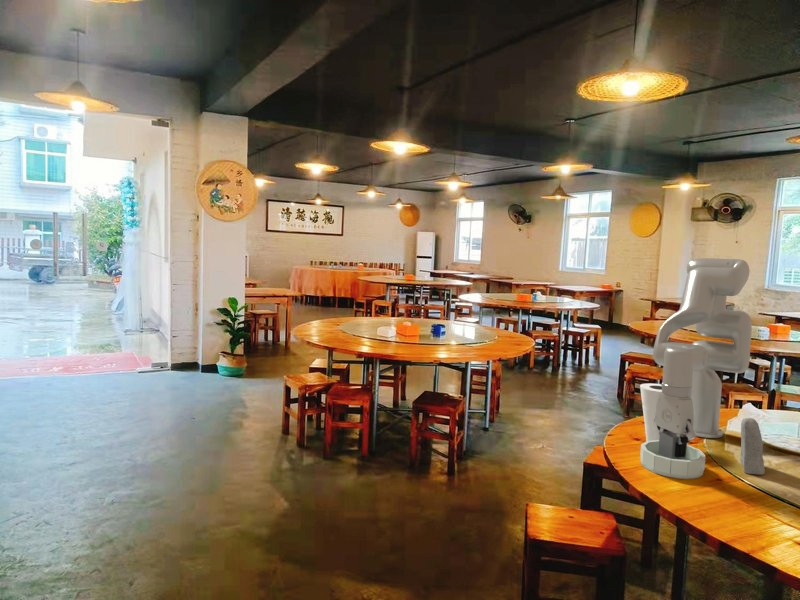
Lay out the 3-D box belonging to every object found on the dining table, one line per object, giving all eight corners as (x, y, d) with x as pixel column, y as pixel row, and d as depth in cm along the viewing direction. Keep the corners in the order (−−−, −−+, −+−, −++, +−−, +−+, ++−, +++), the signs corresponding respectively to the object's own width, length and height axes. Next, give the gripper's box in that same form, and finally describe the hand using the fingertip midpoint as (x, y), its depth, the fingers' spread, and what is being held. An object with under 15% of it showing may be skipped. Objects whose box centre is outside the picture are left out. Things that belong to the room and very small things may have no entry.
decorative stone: (735, 459, 162) (739, 410, 160) (758, 463, 159) (763, 413, 158) (740, 473, 152) (744, 421, 150) (766, 477, 150) (770, 424, 148)
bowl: (628, 459, 161) (629, 442, 160) (673, 454, 165) (674, 438, 165) (669, 481, 145) (670, 463, 145) (716, 475, 150) (718, 458, 149)
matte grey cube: (658, 453, 157) (659, 431, 156) (672, 452, 158) (674, 430, 157) (671, 460, 152) (672, 437, 151) (685, 458, 153) (687, 436, 153)
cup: (629, 437, 179) (632, 384, 177) (657, 435, 182) (661, 382, 180) (651, 449, 169) (655, 392, 167) (680, 446, 171) (684, 391, 170)
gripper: (644, 384, 160) (640, 443, 162) (689, 400, 144) (684, 466, 146) (665, 382, 162) (661, 441, 164) (712, 398, 146) (707, 463, 148)
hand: (672, 452), depth 155 cm, fingers closed on matte grey cube, 5 cm apart
